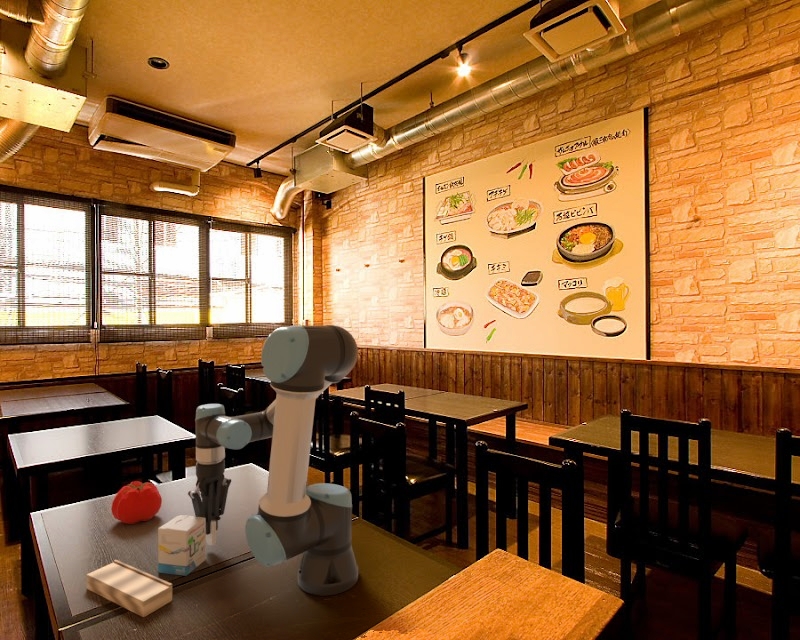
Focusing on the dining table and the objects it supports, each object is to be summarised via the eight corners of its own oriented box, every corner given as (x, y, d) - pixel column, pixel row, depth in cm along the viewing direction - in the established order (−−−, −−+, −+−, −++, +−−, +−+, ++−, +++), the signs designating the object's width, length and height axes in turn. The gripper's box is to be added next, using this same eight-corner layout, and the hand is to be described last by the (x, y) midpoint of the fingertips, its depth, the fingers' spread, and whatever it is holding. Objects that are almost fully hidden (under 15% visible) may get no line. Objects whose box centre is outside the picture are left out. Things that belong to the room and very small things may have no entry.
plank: (172, 600, 110) (172, 583, 110) (143, 617, 103) (143, 599, 103) (116, 574, 120) (116, 559, 120) (87, 588, 114) (86, 572, 114)
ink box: (186, 576, 120) (186, 531, 119) (157, 572, 121) (156, 527, 121) (206, 559, 128) (206, 516, 128) (178, 556, 130) (178, 513, 129)
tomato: (164, 522, 150) (164, 485, 150) (112, 533, 142) (112, 494, 142) (158, 507, 161) (158, 473, 161) (110, 517, 153) (110, 481, 153)
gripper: (220, 452, 139) (220, 531, 140) (181, 464, 128) (181, 550, 129) (238, 456, 136) (238, 537, 136) (199, 469, 124) (199, 557, 125)
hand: (210, 543), depth 132 cm, fingers closed
